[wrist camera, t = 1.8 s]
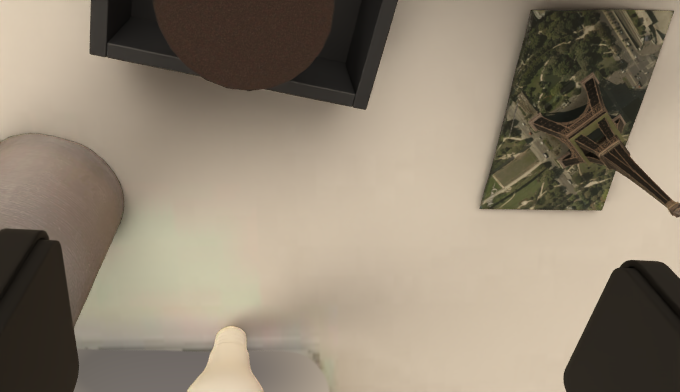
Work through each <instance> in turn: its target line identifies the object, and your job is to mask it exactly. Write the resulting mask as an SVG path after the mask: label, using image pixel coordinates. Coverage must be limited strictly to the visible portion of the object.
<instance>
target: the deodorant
mask: <svg viewBox="0 0 680 392" xmlns="http://www.w3.org/2000/svg"><path fill="white" fill-rule="evenodd" d="M153 7H154V10H155V14H156V18H157V22H158V26H159V28H160V30H161V32H162V34H163V36H164V38H165V39H166V41H167V43H168V45H169V47H170V48H171V50H172V51H173V52H174V53H175V54H176V55H177V56H178V57H179V59H180V60H181V61H182V62H183V63H184V64H185V65H186V66H187V67H188V68H189V69H191V70H192V71H194V72H195V73H197V74H198V75H200V76H201V77H203V78H204V79H206V80H208V81H210V82H213V83H215V84H218V85H221V86H223V87H226V88H231V89H239V90H247V91H252V90H260V89H268V88H273V87H275V86H278V85H280V84H283V83H285V82H288V81H290V80H292V79H293V78H295V77H296V76H297V75H299V74H300V73H301V72H303V71H304V70H306V69H307V68H308V67H309V66H310V65H311V63H312V62H313V61H314V60H315V58H316V57H317V56H318V55H319V54H320V52H321V51H322V49H323V47H324V45H325V42H326V40H327V38H328V36H329V33H330V31H331V27H332V20H333V14H334V8H335V5H334V0H153Z"/></svg>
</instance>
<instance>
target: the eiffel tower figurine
mask: <svg viewBox="0 0 680 392" xmlns="http://www.w3.org/2000/svg"><path fill="white" fill-rule="evenodd" d="M673 13H674V11H659V10H619V9H612V10H580V11H552V10H531V12H530V17H529V21H528V25H527V30H526V34H525V38H524V41H523V45H522V48H521V52H520V56H519V60H518V63H517V67H516V71H515V75H514V79H513V83H512V88H511V92H510V96H509V101H508V105H507V109H506V113H505V117H504V121H503V125H502V129H501V133H500V137H499V141H498V145H497V149H496V152H495V156H494V160H493V164H492V167H491V171H490V174H489V178H488V181H487V184H486V187H485V191H484V194H483V198H482V202H481V206H480V209H532V210H602V209H603V206H604V203H605V200H606V197H607V194H608V191H609V188H610V185H611V183H612V180H613V177H614V174H615V171H618V172H619V173H621V174H622V175H624V176H626V177H627V178H629V179H630V180H631V181H633V182H634V183H635V184H637V185H638V186H639V187H641V188H642V189H643V190H645V191H646V192H647V193H649V194H650V195H651V196H653V197H654V198H655V199H657V200H658V201H659V202H660V203H662V204H663V205H664V206H666V207H667V208H668V210H669V212H670V213H671V214H672V215H673V216H675V217H676V218H677V217H680V203H679V202H674V201H673V200H672V199H671V198H670V197H669V196H668V195H667V194H666V193H665V192H664V191H663V190H662V189H661V188H660V187H659V186H658V185H657V184H656V183H655V182H654V181H653V180H652V179H651V178H650V177H649V176H648V175H647V174H646V173H645V172H644V171H643V170H642V169H641V168H640V167H639V166H638V165H637V164H636V163H635V162H634V161H633V159H632V158H631V157H630V153H629V152H628V150H627V149H626V147H625V145H626V142H627V140H628V137H629V134H630V132H631V129H632V127H633V124H634V122H635V119H636V116H637V114H638V111H639V108H640V106H641V103H642V100H643V97H644V95H645V92H646V89H647V86H648V84H649V81H650V78H651V75H652V72H653V69H654V67H655V64H656V61H657V58H658V55H659V52H660V49H661V47H662V44H663V41H664V38H665V35H666V32H667V30H668V27H669V24H670V21H671V18H672V16H673Z"/></svg>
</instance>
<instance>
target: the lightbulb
mask: <svg viewBox="0 0 680 392" xmlns="http://www.w3.org/2000/svg"><path fill="white" fill-rule="evenodd" d="M187 392H264V391H263V389H262V387H261V385H260V383H259V382H258V380H257V379H256V377H255V376H254V375H253V374H252V371H251V368H250V363H249V353H248V351H247V340H246V334H245V332H244V331H243V330H241V329H240V328H238V327H233V326H229V327H225V328H223V329H221V330H220V331H219V332H218V333H217V335H216V338H215V343H214V348H213V350H212V351H211V353H210V356H209V361H208V363H207V366H206V368H205V369H204V371H203V372H202V373H201V374H200V375H199V376H198V377H197V379H196V380H195V381H194V382H193V384H192V385H191V386H190V387H189V388H188V390H187Z"/></svg>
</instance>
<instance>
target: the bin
mask: <svg viewBox="0 0 680 392" xmlns="http://www.w3.org/2000/svg"><path fill="white" fill-rule="evenodd" d="M397 2H398V0H334V5H335V8H334V14H333V20H332V27H331V31H330V33H329V36H328V38H327V40H326V42H325V45H324V47H323V49H322V51H321V52H320V54H319V55H318V56H317V57H316V58H315V60H314V61H313V62H312V63H311V65H310V66H309V67H308V68H307V69H306V70H304V71H303V72H301V73H300V74H299V75H297V76H296V77H295V78H293V79H292V80H290V81H288V82H285V83H283V84H280V85H278V86H275V87H273V88H268V89H266V90H271V91H276V92H280V93H285V94H290V95H295V96H300V97H305V98H310V99H315V100H320V101H325V102H330V103H335V104H340V105H345V106H350V107H352V106H353V107H354V108H359V109H364V110H366V108H367V105H368V101H369V98H370V94H371V91H372V88H373V84H374V81H375V77H376V74H377V70H378V67H379V64H380V60H381V57H382V53H383V50H384V47H385V43H386V40H387V36H388V33H389V29H390V26H391V23H392V19H393V16H394V12H395V9H396V6H397ZM90 54H91V55H96V56H101V57H106V56H107V57H108V58H112V59H117V60H122V61H127V62H132V63H137V64H142V65H147V66H152V67H157V68H162V69H167V70H172V71H177V72H182V73H187V74H192V75H196V76H200V75H198V74H197V73H195V72H194V71H192V70H191V69H189V68H188V67H187V66H186V65H185V64H184V63H183V62H182V61H181V60H180V59H179V57H178V56H177V55H176V54H175V53H174V52H173V51H172V50H171V48H170V47H169V45H168V43H167V41H166V39H165V38H164V36H163V34H162V32H161V30H160V28H159V26H158V22H157V18H156V14H155V10H154V7H153V0H91V20H90Z"/></svg>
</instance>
